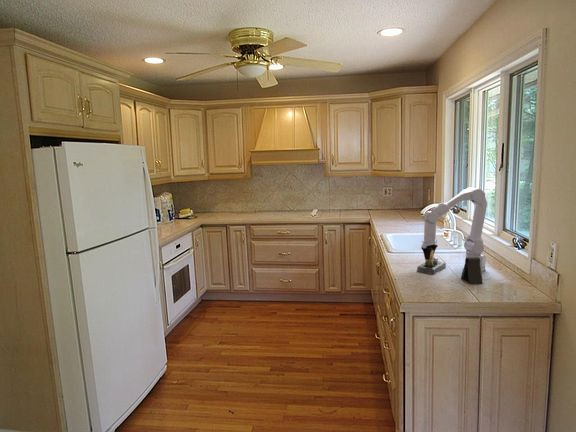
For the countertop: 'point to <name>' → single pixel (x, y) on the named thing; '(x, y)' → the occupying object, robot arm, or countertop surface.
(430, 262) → the cylinder
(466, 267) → the phone stand
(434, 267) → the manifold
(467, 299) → the countertop surface
